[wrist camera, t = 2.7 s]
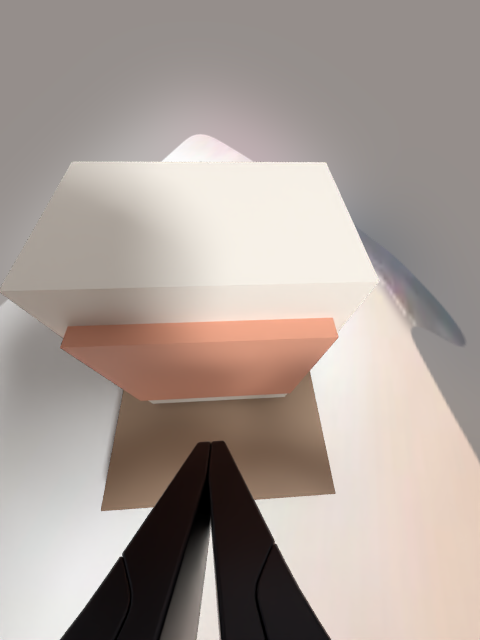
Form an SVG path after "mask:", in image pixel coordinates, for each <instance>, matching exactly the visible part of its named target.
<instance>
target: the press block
mask: <svg viewBox="0 0 480 640" xmlns="http://www.w3.org/2000/svg"><path fill="white" fill-rule="evenodd" d="M379 282H380V281H379V279H378V277H377V275H376V273H375V270H374V268H373V266H372V264H371V261H370V259H369V257H368V255H367V253H366V250H365V248H364V246H363V244H362V241H361V239H360V237H359V235H358V233H357V230H356V228H355V226H354V224H353V222H352V220H351V217H350V215H349V213H348V211H347V208H346V206H345V204H344V202H343V199H342V197H341V195H340V193H339V190H338V188H337V186H336V184H335V182H334V179H333V177H332V175H331V173H330V171H329V168H328V166H327V164H326V162H323V163H322V162H72V163H71V164H70V166H69V168H68V170H67V172H66V173H65V175H64V177H63V179H62V180H61V182H60V184H59V186H58V188H57V189H56V191H55V193H54V194H53V196H52V198H51V200H50V201H49V203H48V205H47V207H46V208H45V210H44V212H43V214H42V215H41V217H40V219H39V221H38V222H37V224H36V226H35V228H34V229H33V231H32V233H31V235H30V236H29V239H28V240H27V242H26V244H25V245H24V247H23V249H22V251H21V252H20V254H19V256H18V258H17V260H16V261H15V263H14V265H13V266H12V269H11V270H10V272H9V273H8V275H7V277H6V279H5V280H4V282H3V284H2V286H1V288H0V293H1V294H3V295H4V296H6V297H7V298H8V299H10V300H11V301H12V302H14V303H15V304H16V305H18V306H19V307H21V308H22V309H23V310H25V311H26V312H27V313H29V314H30V315H32V316H33V317H34V318H36V319H37V320H38V321H40V322H41V323H42V324H44V325H45V326H47V327H48V328H49V329H51V330H52V331H53V332H55V333H56V334H58V335H59V336H60V337H62V338H63V341H62V344H61V346H60V348H61V349H63V350H64V351H66V352H67V353H69V354H70V355H72V356H73V357H75V358H76V359H78V360H79V361H81V362H82V363H84V364H85V365H87V366H88V367H90V368H91V369H93V370H94V371H96V372H97V373H99V374H100V375H102V376H103V377H105V378H106V379H108V380H110V381H111V382H113V383H114V384H116V385H117V386H119V387H120V388H122V389H123V390H125V391H126V392H128V393H129V394H131V395H132V396H134V397H135V398H137V399H138V400H140V401H150V402H151V403H152V404H157V403H176V402H196V401H215V400H235V399H254V398H274V397H285V396H286V395H287V394H288V393H291V392H292V391H293V390H294V388H295V387H296V386H297V385H298V384H299V383H300V381H301V380H302V379H303V378H304V377H305V376H306V374H307V373H308V372H309V371H310V370H311V369H312V367H313V366H314V365H315V364H316V363H317V362H318V361H319V359H320V358H321V357H322V356H323V355H324V354H325V352H326V351H327V350H328V349H329V348H330V347H331V345H332V344H333V343H334V342H335V341H336V340H337V338H338V332H339V330H340V329H341V328H342V327H343V326H344V324H345V323H346V322H347V321H348V319H349V318H350V317H351V316H352V315H353V313H354V312H355V311H356V310H357V309H358V307H359V306H360V305H361V304H362V302H363V301H364V300H365V299H366V298H367V296H368V295H369V294H370V293H371V292H372V290H373V289H374V288H375V287H376V285H377V284H378V283H379Z"/></svg>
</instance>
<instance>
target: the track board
mask: <svg viewBox="0 0 480 640" xmlns="http://www.w3.org/2000/svg"><path fill="white" fill-rule="evenodd" d="M221 440H223V441H225V443H226V445H227V447H228V449H229V451H230V453H231V455H232V457H233V459H234V461H235V463H236V465H237V467H238V469H239V471H240V473H241V475H242V477H243V479H244V481H245V483H246V485H247V487H248V489H249V491H250V493H251V495H252V497H253V499H254V500H257V499H270V498H284V497H297V496H311V495H324V494H335V489H334V484H333V480H332V475H331V470H330V465H329V460H328V456H327V451H326V446H325V441H324V437H323V432H322V427H321V422H320V418H319V413H318V408H317V403H316V399H315V394H314V389H313V384H312V380H311V375H310V371H309V372H308V373H307V374H306V376H305V377H304V378H303V379H302V380H301V381H300V383H299V384H298V385H297V386H296V387H295V388H294V390H293V391H292V392H291V393H288V394H287V395H286V396H285V397H274V398H254V399H235V400H215V401H196V402H176V403H157V404H152V403H151V402H150V401H140V400H138V399H137V398H135V397H134V396H132V395H131V394H129V393H128V392H126V391H125V390H123V395H122V400H121V406H120V411H119V416H118V422H117V427H116V432H115V438H114V443H113V448H112V453H111V459H110V464H109V469H108V475H107V480H106V485H105V491H104V496H103V501H102V506H101V511H109V510H122V509H136V508H149V507H154V506H155V505H156V503H157V502H158V500H159V499H160V497H161V496H162V494H163V493H164V491H165V490H166V488H167V487H168V485H169V484H170V482H171V481H172V480H173V478H174V477H175V475H176V474H177V472H178V471H179V469H180V468H181V466H182V465H183V463H184V462H185V460H186V459H187V457H188V456H189V455H190V453H191V452H192V450H193V449H194V447H195V446H196V444H197V443H198V442H204V441H210V442H211V443H212V441H221Z"/></svg>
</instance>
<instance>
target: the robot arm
mask: <svg viewBox="0 0 480 640" xmlns="http://www.w3.org/2000/svg"><path fill="white" fill-rule="evenodd" d="M210 528H211V530H212V544H213V558H214V571H215V585H216V598H217V611H218V625H219V638H220V640H331V639H330V637H329V635H328V634H327V632H326V631H325V629H324V627H323V626H322V624H321V623H320V621H319V620H318V618H317V616H316V615H315V613H314V611H313V610H312V608H311V606H310V605H309V603H308V601H307V600H306V598H305V596H304V595H303V593H302V591H301V590H300V588H299V586H298V584H297V582H296V581H295V579H294V577H293V575H292V573H291V571H290V569H289V567H288V566H287V564H286V562H285V560H284V558H283V556H282V554H281V552H280V550H279V548H278V546H277V544H275V541H274V538H273V536H272V534H271V532H270V530H269V528H268V526H267V524H266V522H265V520H264V519H263V517H262V515H261V513H260V511H259V509H258V507H257V505H256V503H255V501H254V499H253V497H252V495H251V493H250V491H249V489H248V487H247V485H246V483H245V481H244V479H243V477H242V475H241V473H240V471H239V469H238V467H237V465H236V463H235V461H234V459H233V457H232V455H231V453H230V451H229V449H228V447H227V445H226V443H225V441H223V440H221V441H212V443H211V442H210V441H204V442H198V443H197V444H196V446H195V447H194V449H193V450H192V452H191V453H190V455H189V456H188V457H187V459H186V460H185V462H184V463H183V465H182V466H181V468H180V469H179V471H178V472H177V474H176V475H175V477H174V478H173V480H172V481H171V482H170V484H169V485H168V487H167V488H166V490H165V491H164V493H163V494H162V496H161V497H160V499H159V500H158V502H157V503H156V505H155V506H154V508H153V509H152V510H151V512H150V513H149V515H148V516H147V518H146V519H145V521H144V522H143V524H142V525H141V527H140V528H139V530H138V531H137V533H136V534H135V535H134V537H133V538H132V540H131V541H130V543H129V544H128V546H127V547H126V549H125V550H124V552H123V554H122V556H123V557H119V559H118V560H117V562H116V563H115V565H114V566H113V568H112V569H111V571H110V572H109V574H108V575H107V577H106V578H105V579H104V581H103V582H102V584H101V585H100V586H99V588H98V589H97V591H96V592H95V593H94V595H93V596H92V598H91V599H90V601H89V602H88V603H87V605H86V606H85V608H84V609H83V610H82V612H81V613H80V614H79V615H78V617H77V618H76V619H75V621H74V622H73V623H72V625H71V626H70V627H69V629H68V630H67V631H66V632H65V634H64V635H63V636H62V638H61V639H60V640H196V639H197V632H198V624H199V616H200V608H201V600H202V593H203V585H204V577H205V569H206V561H207V553H208V546H209V538H210Z"/></svg>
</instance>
